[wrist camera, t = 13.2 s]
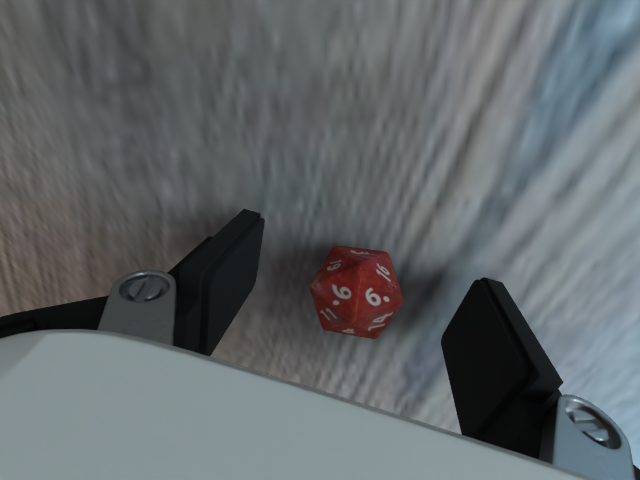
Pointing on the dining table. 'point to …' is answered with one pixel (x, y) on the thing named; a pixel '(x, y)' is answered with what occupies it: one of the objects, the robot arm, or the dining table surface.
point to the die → (356, 292)
